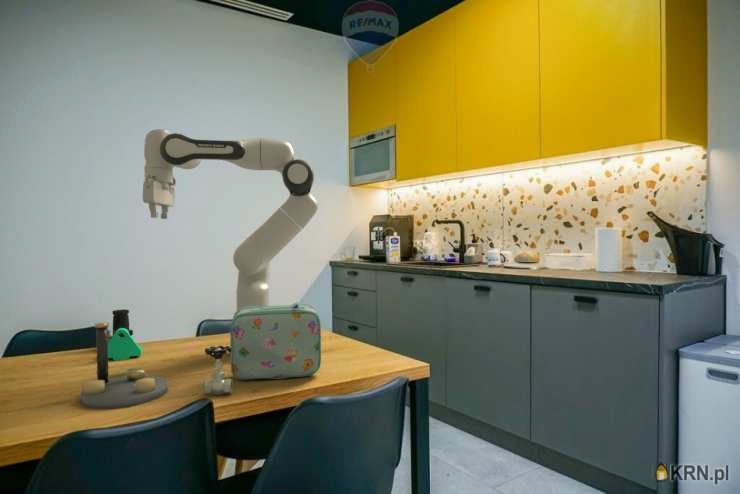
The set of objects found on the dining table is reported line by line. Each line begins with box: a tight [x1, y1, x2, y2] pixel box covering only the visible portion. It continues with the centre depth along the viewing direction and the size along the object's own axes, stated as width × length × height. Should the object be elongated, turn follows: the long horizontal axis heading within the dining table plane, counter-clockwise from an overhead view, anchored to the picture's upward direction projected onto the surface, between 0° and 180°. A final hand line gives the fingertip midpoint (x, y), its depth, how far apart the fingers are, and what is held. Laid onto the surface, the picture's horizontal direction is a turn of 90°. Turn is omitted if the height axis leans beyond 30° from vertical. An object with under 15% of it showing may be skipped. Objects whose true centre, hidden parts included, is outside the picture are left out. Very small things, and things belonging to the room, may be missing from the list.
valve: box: [203, 345, 234, 396], centre depth 122 cm, size 7×7×12 cm
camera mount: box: [108, 328, 143, 361], centre depth 162 cm, size 12×8×10 cm, turn 112°
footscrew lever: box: [94, 322, 146, 383], centre depth 127 cm, size 12×4×16 cm, turn 131°
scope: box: [108, 309, 134, 342], centre depth 175 cm, size 8×14×10 cm
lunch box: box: [229, 301, 323, 381], centre depth 139 cm, size 27×10×21 cm, turn 102°
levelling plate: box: [80, 375, 169, 410], centre depth 123 cm, size 20×20×4 cm
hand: (159, 218), depth 162 cm, fingers open, 8 cm apart
